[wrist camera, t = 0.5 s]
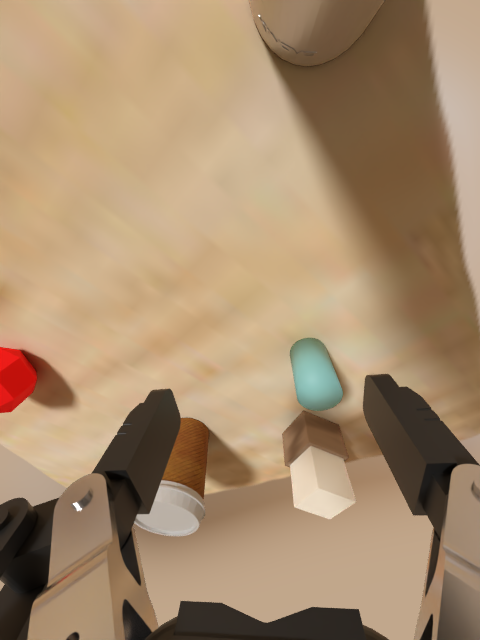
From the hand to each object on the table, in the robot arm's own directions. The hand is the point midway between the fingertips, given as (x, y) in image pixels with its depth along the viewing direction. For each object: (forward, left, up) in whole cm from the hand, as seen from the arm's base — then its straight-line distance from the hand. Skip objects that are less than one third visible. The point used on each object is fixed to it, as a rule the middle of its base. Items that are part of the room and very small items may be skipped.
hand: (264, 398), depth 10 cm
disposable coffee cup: (+29, +2, -18) cm, 34 cm away
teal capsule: (+7, +10, -18) cm, 21 cm away
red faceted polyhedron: (+28, -25, -18) cm, 41 cm away
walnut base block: (+19, +18, -18) cm, 31 cm away
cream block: (+19, +18, -13) cm, 29 cm away
